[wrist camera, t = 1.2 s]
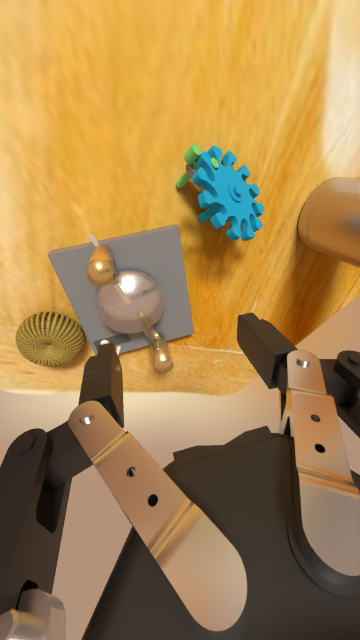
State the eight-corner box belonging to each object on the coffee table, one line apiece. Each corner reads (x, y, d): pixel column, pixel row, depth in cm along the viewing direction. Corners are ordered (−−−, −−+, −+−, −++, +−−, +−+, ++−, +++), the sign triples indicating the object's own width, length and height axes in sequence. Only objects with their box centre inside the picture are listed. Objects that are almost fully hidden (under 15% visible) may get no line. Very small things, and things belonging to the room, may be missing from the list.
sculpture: (76, 320, 28) (86, 369, 32) (80, 304, 32) (89, 350, 36) (0, 325, 26) (21, 376, 31) (13, 308, 30) (30, 356, 34)
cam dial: (184, 331, 35) (195, 357, 31) (137, 355, 36) (141, 385, 31) (128, 229, 26) (131, 243, 21) (65, 262, 26) (53, 283, 21)
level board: (174, 213, 28) (177, 215, 27) (191, 330, 38) (194, 335, 37) (45, 240, 26) (42, 243, 25) (98, 354, 36) (98, 361, 35)
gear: (276, 199, 28) (255, 255, 24) (237, 223, 33) (214, 274, 29) (216, 114, 24) (177, 163, 19) (182, 156, 29) (144, 203, 24)
